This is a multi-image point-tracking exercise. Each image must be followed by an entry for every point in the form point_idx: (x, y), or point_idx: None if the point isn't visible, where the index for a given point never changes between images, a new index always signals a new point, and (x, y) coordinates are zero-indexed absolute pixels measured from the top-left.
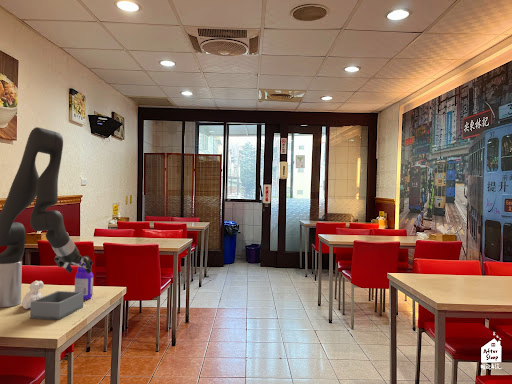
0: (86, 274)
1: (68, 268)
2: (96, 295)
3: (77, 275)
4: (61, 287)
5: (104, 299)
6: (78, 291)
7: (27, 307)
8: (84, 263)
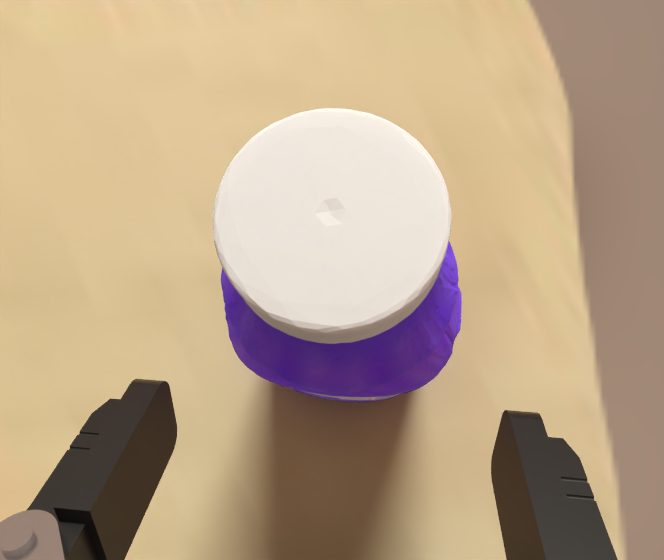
0: (413, 375)
1: (129, 521)
2: None
3: (276, 380)
4: (20, 34)
5: (548, 356)
6: (319, 395)
7: None
8: (375, 341)
